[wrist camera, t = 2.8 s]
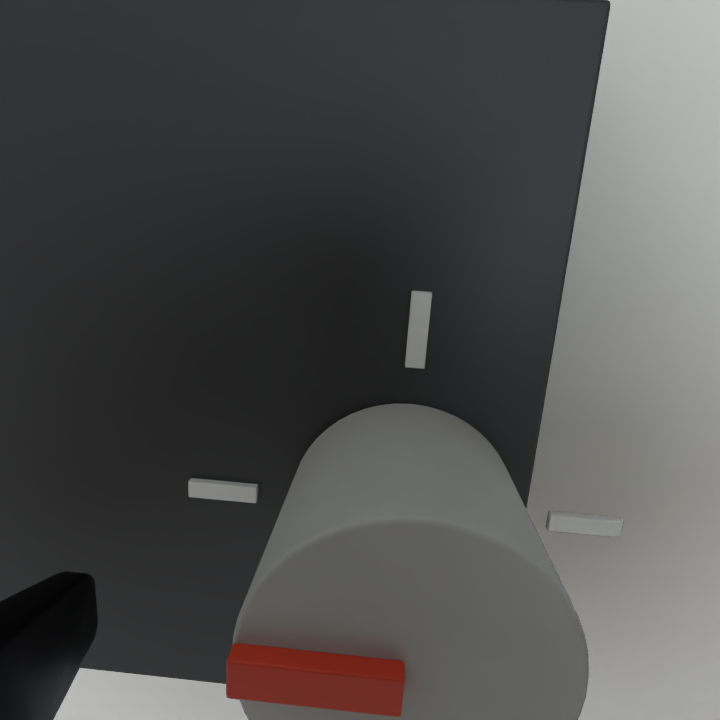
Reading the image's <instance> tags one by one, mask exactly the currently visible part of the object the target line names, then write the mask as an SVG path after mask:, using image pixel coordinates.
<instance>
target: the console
mask: <svg viewBox="0 0 720 720" xmlns="http://www.w3.org/2000/svg"><path fill="white" fill-rule="evenodd" d="M609 11H610V1H607V0H0V601H2V600H4V599H6V598H8V597H10V596H12V595H14V594H16V593H18V592H20V591H22V590H24V589H26V588H28V587H30V586H33V585H35V584H37V583H39V582H41V581H43V580H45V579H47V578H49V577H51V576H53V575H55V574H57V573H59V572H63V571H71V572H80V573H88V574H90V575H92V576H93V578H94V580H95V588H96V601H97V614H98V627H97V632H96V635H95V638H94V641H93V643H92V645H91V647H90V649H89V651H88V653H87V655H86V657H85V659H84V661H83V662H82V664H81V666H80V668H87V669H97V670H106V671H115V672H124V673H133V674H142V675H151V676H160V677H169V678H178V679H187V680H196V681H205V682H214V683H223V684H226V661H227V658H228V656H229V653H230V651H231V648H232V645H233V634H234V630H235V626H236V622H237V618H238V615H239V613H240V610H241V608H242V605H243V603H244V600H245V598H246V595H247V593H248V590H249V588H250V585H251V583H252V581H253V578H254V576H255V573H256V571H257V568H258V566H259V563H260V561H261V558H262V556H263V553H264V551H265V548H266V546H267V543H268V541H269V538H270V536H271V533H272V531H273V528H274V526H275V524H276V521H277V519H278V516H279V514H280V511H281V509H282V506H283V504H284V501H285V499H286V496H287V494H288V491H289V489H290V486H291V484H292V481H293V479H294V476H295V474H296V472H297V469H298V467H299V464H300V462H301V460H302V458H303V457H304V455H305V453H306V452H307V450H308V449H309V447H310V446H311V445H312V444H313V442H314V441H315V440H316V439H317V438H318V437H319V436H320V435H321V434H322V433H323V432H324V431H325V430H326V429H327V428H329V427H330V426H332V425H333V424H335V423H336V422H337V421H339V420H341V419H343V418H345V417H346V416H348V415H350V414H352V413H355V412H358V411H360V410H363V409H366V408H370V407H374V406H379V405H386V404H415V405H422V406H428V407H431V408H435V409H439V410H442V411H444V412H447V413H449V414H451V415H454V416H456V417H458V418H459V419H461V420H463V421H465V422H466V423H468V424H469V425H471V426H472V427H473V428H475V429H476V430H477V431H479V432H480V433H481V434H482V435H483V436H484V437H485V438H486V439H487V440H488V441H489V442H490V443H491V445H492V446H493V447H494V449H495V450H496V451H497V453H498V454H499V456H500V458H501V459H502V461H503V463H504V465H505V467H506V469H507V471H508V473H509V475H510V477H511V479H512V481H513V483H514V485H515V487H516V489H517V491H518V493H519V495H520V497H521V500H522V502H523V504H524V506H525V508H527V502H528V496H529V490H530V484H531V478H532V472H533V466H534V460H535V454H536V448H537V442H538V436H539V430H540V424H541V418H542V412H543V406H544V400H545V394H546V388H547V382H548V376H549V370H550V364H551V358H552V352H553V346H554V340H555V334H556V328H557V322H558V316H559V310H560V304H561V298H562V292H563V286H564V280H565V274H566V268H567V262H568V256H569V251H570V245H571V239H572V233H573V227H574V221H575V215H576V209H577V203H578V197H579V191H580V185H581V179H582V173H583V167H584V161H585V155H586V149H587V143H588V137H589V131H590V125H591V119H592V113H593V107H594V101H595V95H596V89H597V83H598V77H599V71H600V65H601V59H602V53H603V47H604V41H605V35H606V29H607V23H608V17H609ZM622 527H623V520H622V519H621V518H619V517H608V516H598V515H587V514H576V513H565V512H554V511H549V512H548V517H547V523H546V528H547V530H548V531H555V532H566V533H576V534H587V535H598V536H608V537H619V538H620V536H621V531H622Z"/></svg>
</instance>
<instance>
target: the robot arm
mask: <svg viewBox="0 0 720 720" xmlns="http://www.w3.org/2000/svg"><path fill="white" fill-rule="evenodd" d="M97 627H98V614H97V601H96V588H95V580H94V578H93V576H92V575H90V574H88V573H80V572H71V571H63V572H59V573H57V574H55V575H53V576H51V577H49V578H47V579H45V580H43V581H41V582H39V583H37V584H35V585H33V586H30V587H28V588H26V589H24V590H22V591H20V592H18V593H16V594H14V595H12V596H10V597H8V598H6V599H4V600H2V601H0V720H53V719H54V717H55V715H56V713H57V711H58V709H59V707H60V705H61V704H62V702H63V700H64V698H65V696H66V694H67V692H68V690H69V688H70V686H71V684H72V682H73V680H74V678H75V676H76V674H77V672H78V670H79V668H80V666H81V664H82V662H83V661H84V659H85V657H86V655H87V653H88V651H89V649H90V647H91V645H92V643H93V641H94V638H95V635H96V632H97Z"/></svg>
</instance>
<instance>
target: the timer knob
mask: <svg viewBox="0 0 720 720" xmlns="http://www.w3.org/2000/svg"><path fill="white" fill-rule="evenodd" d="M588 676H589V667H588V650H587V645H586V640H585V634H584V631H583V629H582V626H581V623H580V620H579V618H578V615H577V613H576V611H575V609H574V607H573V604H572V602H571V600H570V598H569V596H568V594H567V592H566V590H565V588H564V586H563V584H562V582H561V580H560V578H559V576H558V574H557V572H556V569H555V567H554V565H553V563H552V561H551V559H550V557H549V555H548V553H547V551H546V549H545V547H544V545H543V543H542V541H541V539H540V537H539V535H538V532H537V530H536V528H535V526H534V524H533V522H532V520H531V518H530V516H529V514H528V512H527V510H526V508H525V506H524V504H523V502H522V500H521V497H520V495H519V493H518V491H517V489H516V487H515V485H514V483H513V481H512V479H511V477H510V475H509V473H508V471H507V469H506V467H505V465H504V463H503V461H502V459H501V458H500V456H499V454H498V453H497V451H496V450H495V449H494V447H493V446H492V445H491V443H490V442H489V441H488V440H487V439H486V438H485V437H484V436H483V435H482V434H481V433H480V432H479V431H477V430H476V429H475V428H473V427H472V426H471V425H469V424H468V423H466V422H465V421H463V420H461V419H459V418H458V417H456V416H454V415H451V414H449V413H447V412H444V411H442V410H439V409H435V408H431V407H428V406H422V405H415V404H386V405H379V406H374V407H370V408H366V409H363V410H360V411H358V412H355V413H352V414H350V415H348V416H346V417H345V418H343V419H341V420H339V421H337V422H336V423H335V424H333V425H332V426H330V427H329V428H327V429H326V430H325V431H324V432H323V433H322V434H321V435H320V436H319V437H318V438H317V439H316V440H315V441H314V442H313V444H312V445H311V446H310V447H309V449H308V450H307V452H306V453H305V455H304V457H303V458H302V460H301V462H300V464H299V467H298V469H297V472H296V474H295V476H294V479H293V481H292V484H291V486H290V489H289V491H288V494H287V496H286V499H285V501H284V504H283V506H282V509H281V511H280V514H279V516H278V519H277V521H276V524H275V526H274V528H273V531H272V533H271V536H270V538H269V541H268V543H267V546H266V548H265V551H264V553H263V556H262V558H261V561H260V563H259V566H258V568H257V571H256V573H255V576H254V578H253V581H252V583H251V585H250V588H249V590H248V593H247V595H246V598H245V600H244V603H243V605H242V608H241V610H240V613H239V615H238V618H237V622H236V626H235V630H234V634H233V645H232V648H231V651H230V653H229V656H228V658H227V661H226V695H227V698H231V699H240V702H241V704H242V707H243V709H244V712H245V714H246V715H247V717H248V719H249V720H578V718H579V716H580V713H581V710H582V707H583V704H584V700H585V697H586V691H587V684H588Z"/></svg>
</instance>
